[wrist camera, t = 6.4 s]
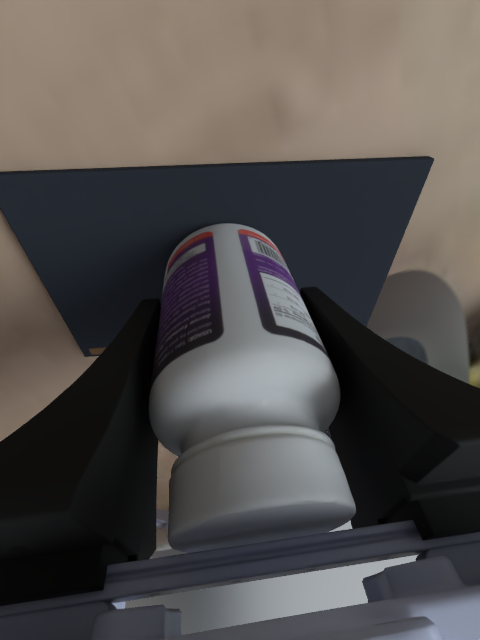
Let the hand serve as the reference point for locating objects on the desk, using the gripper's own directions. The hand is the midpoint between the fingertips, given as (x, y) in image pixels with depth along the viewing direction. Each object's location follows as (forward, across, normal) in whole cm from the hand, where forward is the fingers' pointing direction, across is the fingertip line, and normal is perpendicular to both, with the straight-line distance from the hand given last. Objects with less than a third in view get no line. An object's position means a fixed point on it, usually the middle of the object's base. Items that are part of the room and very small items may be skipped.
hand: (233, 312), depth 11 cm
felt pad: (+3, 0, 0) cm, 3 cm away
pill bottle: (+3, 0, 0) cm, 3 cm away
